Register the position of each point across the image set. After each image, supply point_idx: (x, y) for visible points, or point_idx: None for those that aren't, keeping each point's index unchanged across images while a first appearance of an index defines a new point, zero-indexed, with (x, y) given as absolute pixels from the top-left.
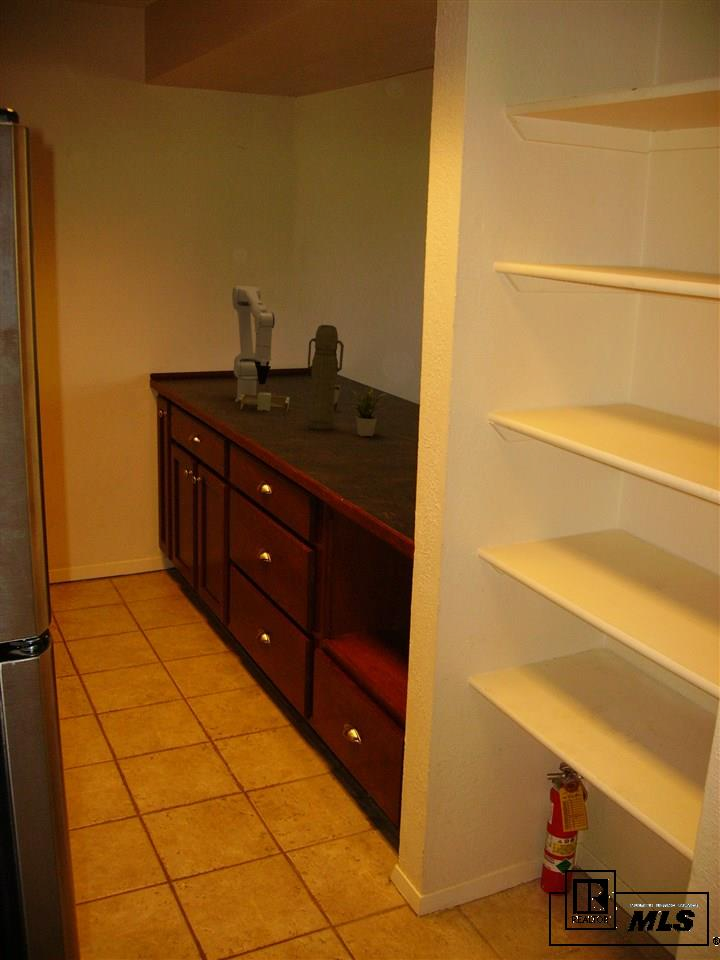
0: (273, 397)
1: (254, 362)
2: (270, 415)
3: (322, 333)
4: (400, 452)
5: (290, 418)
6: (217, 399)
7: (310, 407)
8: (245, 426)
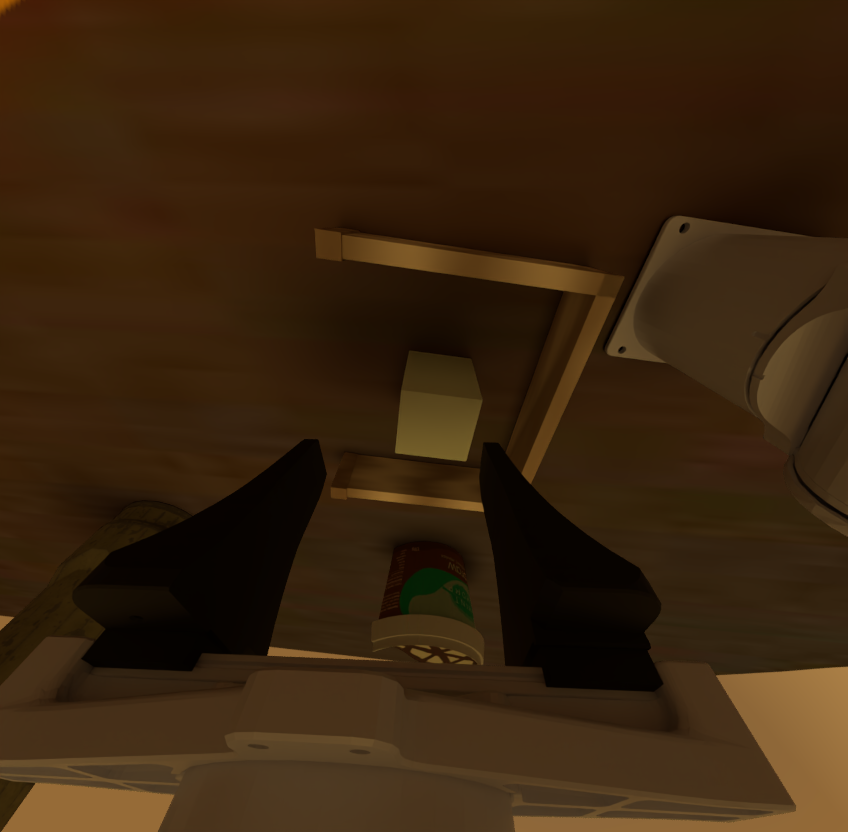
0: (526, 453)
1: (551, 583)
2: (293, 401)
3: None
4: (14, 610)
5: (268, 465)
6: (839, 28)
7: (97, 564)
8: None
